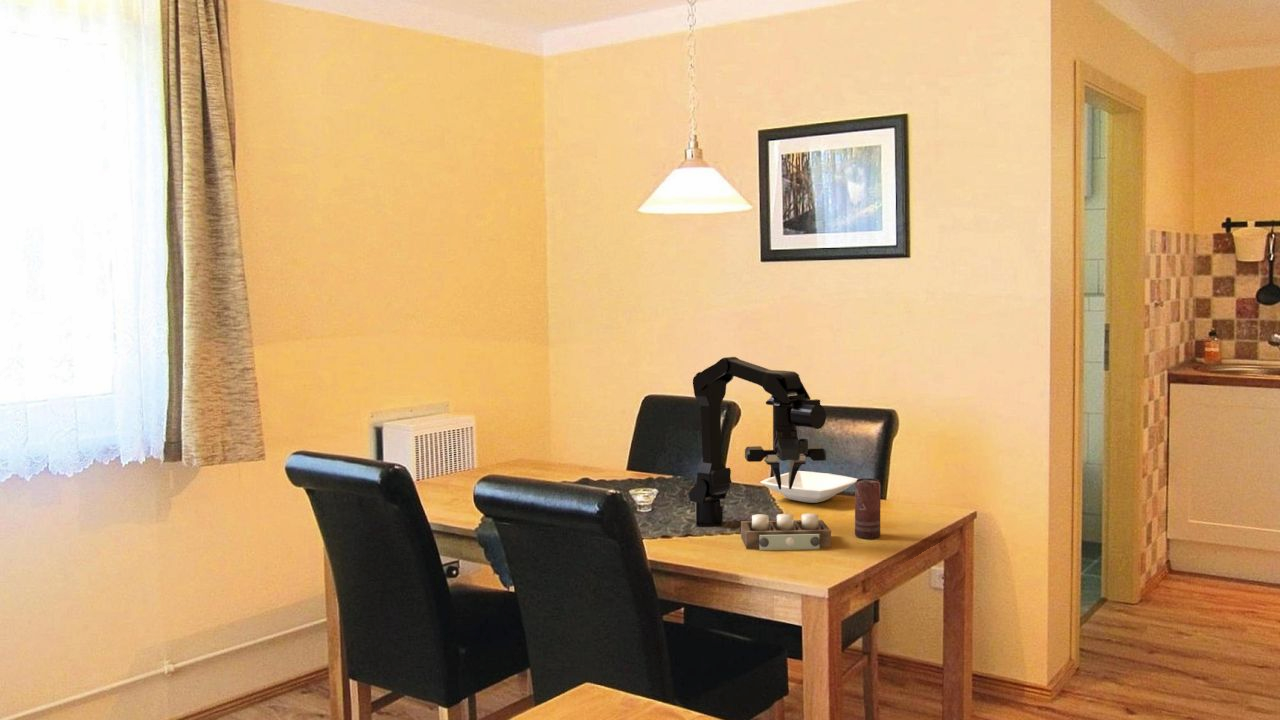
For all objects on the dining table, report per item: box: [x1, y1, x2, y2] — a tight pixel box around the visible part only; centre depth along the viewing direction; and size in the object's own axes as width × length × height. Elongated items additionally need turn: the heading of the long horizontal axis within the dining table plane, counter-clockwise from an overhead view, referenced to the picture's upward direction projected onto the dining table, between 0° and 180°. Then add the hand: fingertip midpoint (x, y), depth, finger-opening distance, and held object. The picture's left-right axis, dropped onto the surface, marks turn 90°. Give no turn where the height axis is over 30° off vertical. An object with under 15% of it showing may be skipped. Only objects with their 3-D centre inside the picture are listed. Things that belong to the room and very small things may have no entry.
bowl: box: [760, 470, 859, 504], centre depth 311 cm, size 22×23×6 cm
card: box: [759, 534, 820, 551], centre depth 258 cm, size 14×1×4 cm, turn 91°
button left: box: [751, 513, 770, 530], centre depth 264 cm, size 4×4×3 cm
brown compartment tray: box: [740, 519, 832, 550], centre depth 265 cm, size 20×11×4 cm, turn 91°
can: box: [854, 478, 882, 540], centre depth 268 cm, size 6×6×14 cm
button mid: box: [776, 513, 795, 530], centre depth 264 cm, size 4×4×3 cm
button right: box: [801, 512, 819, 530], centre depth 264 cm, size 4×4×3 cm
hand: (785, 489), depth 264 cm, fingers closed
